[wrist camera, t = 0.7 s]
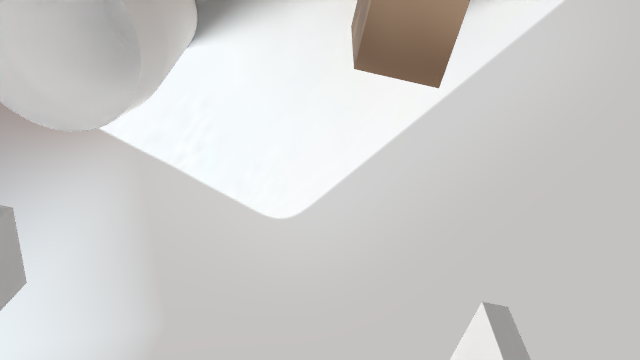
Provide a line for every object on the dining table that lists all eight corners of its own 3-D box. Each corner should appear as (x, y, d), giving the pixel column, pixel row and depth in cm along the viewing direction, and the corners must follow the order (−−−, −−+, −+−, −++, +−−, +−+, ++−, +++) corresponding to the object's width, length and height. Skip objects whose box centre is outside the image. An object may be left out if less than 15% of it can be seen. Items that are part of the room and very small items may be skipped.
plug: (366, -37, 28) (378, -27, 18) (425, -22, 28) (471, -4, 18) (351, 26, 30) (354, 68, 19) (406, 39, 30) (438, 88, 20)
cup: (223, -42, 28) (150, -36, 18) (206, 87, 33) (140, 153, 22) (86, -81, 28) (-73, -98, 17) (87, 56, 32) (-40, 109, 21)
